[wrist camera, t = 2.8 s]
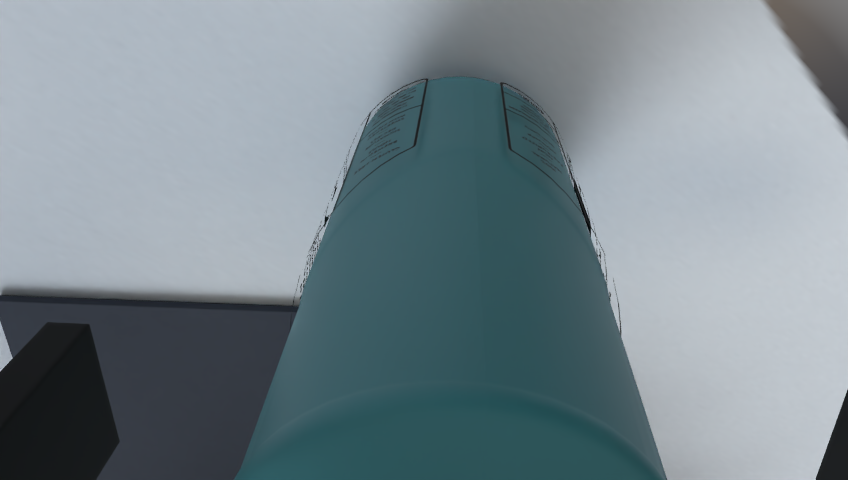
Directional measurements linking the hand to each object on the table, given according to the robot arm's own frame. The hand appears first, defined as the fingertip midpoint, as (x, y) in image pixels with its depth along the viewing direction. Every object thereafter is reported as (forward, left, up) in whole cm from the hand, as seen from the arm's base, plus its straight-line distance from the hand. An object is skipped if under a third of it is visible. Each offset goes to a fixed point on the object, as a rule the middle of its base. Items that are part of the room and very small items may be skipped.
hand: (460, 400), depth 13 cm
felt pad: (+12, -11, -12) cm, 20 cm away
